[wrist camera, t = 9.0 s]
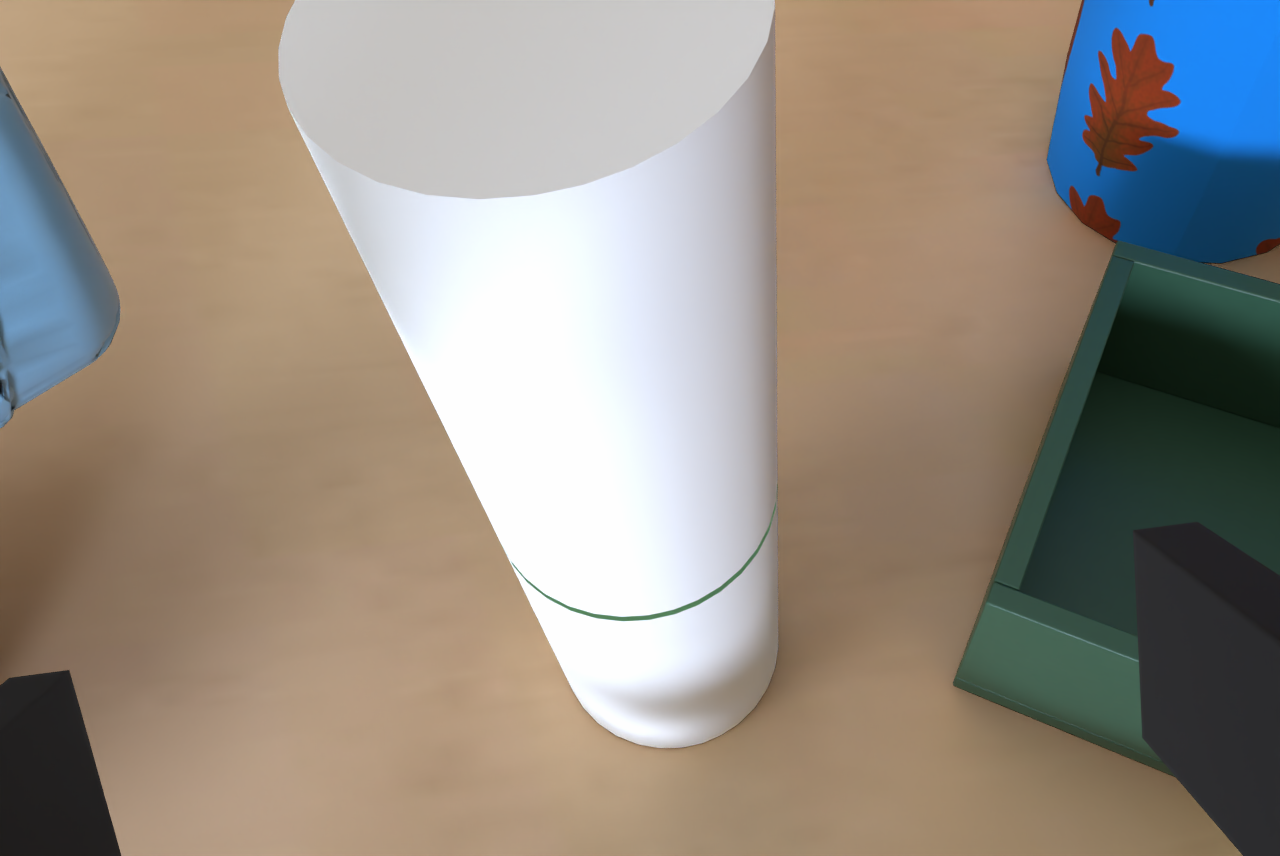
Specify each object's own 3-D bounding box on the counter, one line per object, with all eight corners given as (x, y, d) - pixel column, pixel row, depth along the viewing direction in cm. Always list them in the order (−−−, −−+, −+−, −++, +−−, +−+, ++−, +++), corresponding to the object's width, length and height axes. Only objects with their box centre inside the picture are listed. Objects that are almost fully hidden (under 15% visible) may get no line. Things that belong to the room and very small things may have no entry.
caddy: (1422, 879, 31) (1568, 826, 26) (951, 685, 35) (985, 602, 30) (1481, 488, 37) (1611, 373, 31) (1070, 361, 41) (1117, 239, 35)
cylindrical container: (738, 517, 39) (689, -183, 18) (809, 709, 36) (852, 108, 14) (542, 577, 39) (256, -68, 18) (593, 777, 35) (307, 262, 14)
